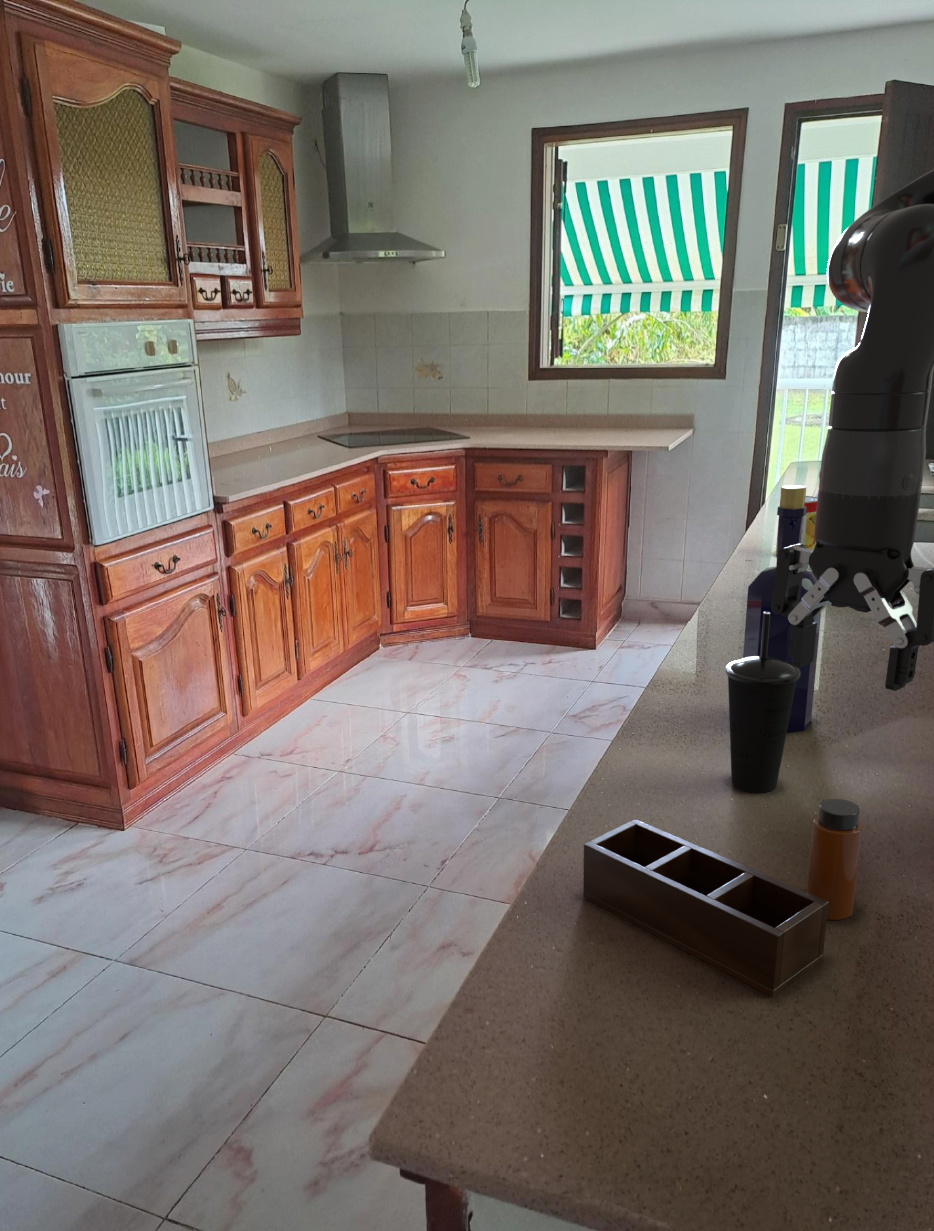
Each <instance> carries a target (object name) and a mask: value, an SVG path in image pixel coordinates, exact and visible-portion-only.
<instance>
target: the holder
mask: <svg viewBox="0 0 934 1231" xmlns="http://www.w3.org/2000/svg"><path fill="white" fill-rule="evenodd" d="M582 872H583V873H582V874H583V877H582V878H583V880H582V881H583V882H582V883H583V888H582V890H583V891H582V898H583V899H585V900H587V901H589V902H591V903H592V904H595V905H597V906H598V907H601V908H602V909H604V910H606V911H608V912H610V913H612V914H614V915H615V916H617V917H619V918H621V919H623V920H625V921H627V922H629V923H631V924H632V925H634V926H636V927H638V928H640V929H642V930H644V931H646V932H648V933H650V934H652V935H653V936H655V937H657V938H659V939H661V940H663V941H665V942H667V943H669V944H671V945H672V946H674V947H676V948H678V949H680V950H681V951H684V952H686V953H687V954H689V955H692V956H693V957H695V958H696V959H699V960H701V961H703V962H705V963H707V964H708V965H710V966H712V967H714V968H716V969H718V970H720V971H722V972H724V973H726V974H728V975H729V976H731V977H733V978H735V979H737V980H739V981H741V982H743V983H744V984H746V985H749V986H750V987H752V988H754V989H756V990H758V991H760V992H762V993H764V994H765V995H767V996H769V997H771V998H774V997H775V996H777V995H778V994H779V993H781V992H782V991H783V990H785V989H786V988H787V987H789V986H790V985H792V984H793V983H794V982H795V981H797V980H798V979H799V978H801V977H803V975H805V974H806V973H808V972H809V971H810V970H812V969H813V968H814V967H816V966H817V965H819V964H820V963H821V962H823V960H824V950H825V941H826V930H827V921H828V919H827V914H828V905H829V902H828V901H826V900H824V899H821V898H819V897H816V896H814V895H812V894H809V893H807V892H806V890H802V889H800V888H797V887H795V886H793V885H790V884H788V883H786V882H784V881H781V880H779V879H777V878H774V877H772V876H769V875H767V874H765V873H762V872H760V871H758V870H755V869H753V868H751V867H748V866H746V865H744V864H741V863H739V862H737V861H734V860H732V859H730V858H728V857H726V856H725V857H724V856H723V855H720V854H718V853H715V852H713V851H711V850H708V849H706V848H704V847H701V846H699V845H697V844H694V843H692V842H689V841H687V840H685V839H682V838H681V837H678V836H675V835H673V834H671V833H669V832H666V831H664V830H663V829H662V830H661V829H660V828H656V827H654V826H652V825H650V824H647V823H645V822H643V821H640V820H638V819H636V818H635V819H632V820H630V821H628V822H626V823H624V824H622V825H620V826H618V827H616V828H613V829H612V830H610V831H608V832H606V833H604V834H601V835H600V836H598V837H596V838H594V839H592V840H590V841H588V842H585V843H584V844H583V871H582Z"/></svg>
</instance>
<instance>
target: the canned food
mask: <svg viewBox="0 0 934 1231" xmlns="http://www.w3.org/2000/svg"><path fill="white" fill-rule="evenodd" d="M817 500H818V496H811V495H806V497H805V504H804V506H806V507H807V509H806V515H805V516H804V518H803V527H802V536H801V544H803V545H805V546H806V549H810V550H814V548H815V545H816V540H815V538H814V530H815V520H816V510H817ZM778 527H779V519H777V528H778ZM776 534H777V535H776V547H775V556H777V546H778V531H777V533H776Z"/></svg>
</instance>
